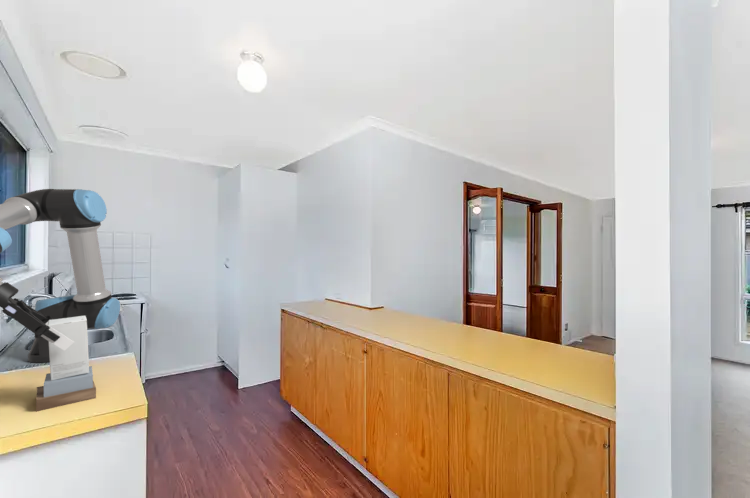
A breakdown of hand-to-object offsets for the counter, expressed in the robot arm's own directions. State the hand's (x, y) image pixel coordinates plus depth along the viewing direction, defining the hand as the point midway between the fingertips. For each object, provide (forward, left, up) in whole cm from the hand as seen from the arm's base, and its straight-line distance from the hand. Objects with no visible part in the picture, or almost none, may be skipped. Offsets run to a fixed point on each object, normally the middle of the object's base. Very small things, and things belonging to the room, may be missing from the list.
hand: (68, 341), depth 98 cm
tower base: (0, 0, -16) cm, 16 cm away
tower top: (0, 0, -13) cm, 13 cm away
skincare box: (0, 0, -9) cm, 9 cm away
